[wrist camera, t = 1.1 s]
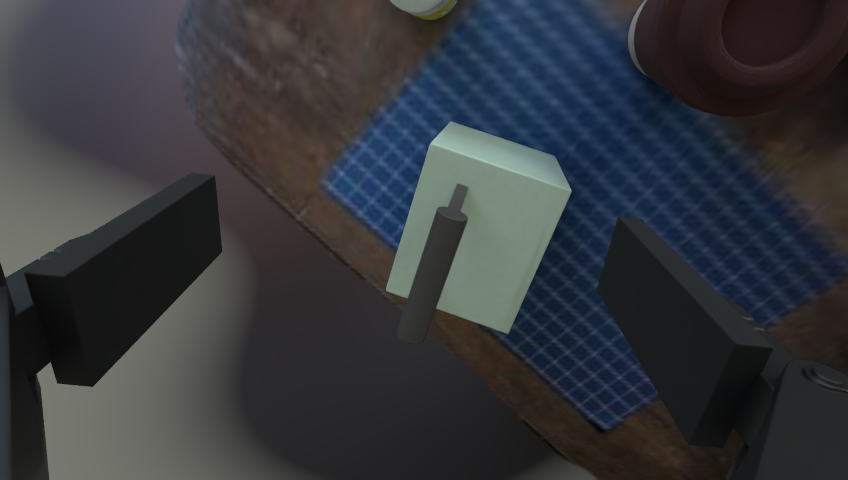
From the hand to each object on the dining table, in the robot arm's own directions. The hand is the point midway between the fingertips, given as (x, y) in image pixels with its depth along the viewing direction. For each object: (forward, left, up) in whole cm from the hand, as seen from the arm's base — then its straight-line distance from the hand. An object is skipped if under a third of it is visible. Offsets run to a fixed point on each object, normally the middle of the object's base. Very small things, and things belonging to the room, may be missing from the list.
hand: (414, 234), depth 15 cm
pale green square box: (-8, +6, -19) cm, 22 cm away
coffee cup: (-13, -12, -29) cm, 34 cm away
